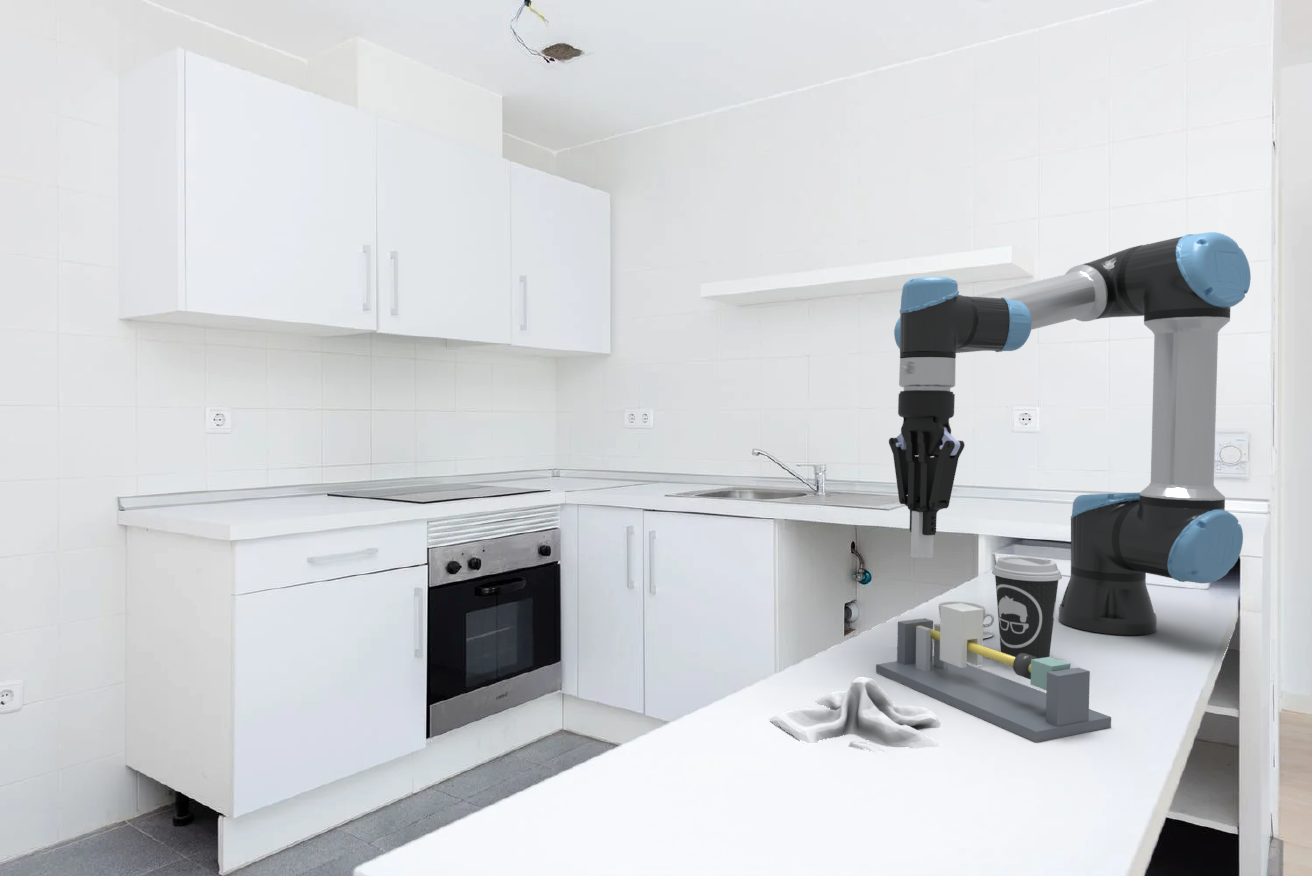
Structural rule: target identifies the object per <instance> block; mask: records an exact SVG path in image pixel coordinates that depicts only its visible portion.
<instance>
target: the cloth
mask: <svg viewBox="0 0 1312 876" xmlns="http://www.w3.org/2000/svg"><path fill="white" fill-rule="evenodd" d="M813 701H814V702H815V703H817V704H816V705H818V706H819V705H820V706H822V705H824V706H823V707H825V706H826V708H821V707H820V708H818V707H817V708H816V707H810V706H809V707H808V706H807V707H801V708H796V709H790V710H787V711H783V712H780V713H778V714H775V715H773V716H772V717H769V719H770V721H771V722H770V721H769V722H770V723H772V722H773V723H774V725H775V724H776V725H777V727H778V726H780V727H781V728H782V729H784V730H785V731H784V730H783V731H784V732H786V733H787V732H788V733H787V734H789V733H790V735H791V734H792V735H793V736H794V737H793V736H792V735H791V736H792V737H793V738H795V737H796V738H797V739H798V740H797V739H796V738H795V739H796V740H797V741H799V740H802V741H805V742H807V743H818V741H819V740H822V741H824V740H823V739H825V740H828V739H827V738H829V739H833V737H834V738H840V736H841V737H844V736H846V735H855V736H856V737H860V738H861V739H863V740H865V741H867V740H869V741H868V742H870V743H868V742H863V741H857V740H856V741H854V740H853V741H851V742H849V744H848V747H850V748H853V747H857V748H856V749H858V748H861V749H860V750H862V749H866V750H869V751H868V752H871V751H872V752H871V753H887V752H886V751H887V750H884V749H882V750H881V748H880V747H877V746H875V745H880V746H883V747H891V748H906V747H909V748H908V749H913V748H916V749H926V748H925V747H929V748H928V749H930V747H932V748H940V744H939V742H937V741H936V740H935V739H933V738H932V737H930V736H928V735H926V734H925V733H924V732H921V731H919V730H918V729H916V728H919V729H920V728H925V729H939V728H940V727H941V721H940V719H939V717H938V716H937V715H936V714H935V713H934V712H933V711H931V710H929V709H928V708H927V707H922V706H917V705H895V704H893V700H892V699H891V698H890V696H889V695H888V694H887V692H886V691H885V690H883V688H882V687H881V686H880V685H879V684H878V682H876V681H875V680H874V679H873V678H871V677H865V676H859V677H856V678H854V680H853V681H851V684H850V686H849V688H848V690H846V691H845V690H842V691H831V692H828V693H825V694H824V695H821V696H819V698H817V699H816V700H813ZM829 708H830V709H829ZM773 723H772V724H773ZM776 725H775V726H776ZM780 727H779V728H780ZM781 728H780V729H781ZM782 729H781V730H782ZM843 735H844V736H843ZM871 743H873V744H875V745H873V744H871ZM923 747H924V748H923ZM877 751H878V752H877ZM881 751H882V752H881Z"/></svg>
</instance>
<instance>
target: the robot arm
mask: <svg viewBox="0 0 1312 876" xmlns="http://www.w3.org/2000/svg"><path fill="white" fill-rule="evenodd" d="M1250 268H1251V267H1250V264H1249V261H1248V258H1247V255H1246V254H1245V252H1244V249H1242V248H1241V247H1240V246H1239V244H1238V243H1237V242H1236V241H1235V240H1234V239H1233V238H1231V237H1230V236H1228V235H1227V234H1224V233H1221V232H1213V231H1212V232H1211V231H1210V232H1203V233H1193V234H1190V233H1189V234H1185V235H1184V236H1179V237H1175V238H1170V239H1165V240H1161V241H1157V242H1152V243H1147V244H1141V245H1136V246H1132V247H1128V248H1125V249H1123V250H1120V251H1117V252H1114V253H1111V254H1109V255H1106V256H1104V257H1100V258H1098V259H1096V260H1092V261H1090V262H1086V263H1085V262H1084V263H1083V264H1078V265H1075V266H1072V267H1071V268H1069V269H1068V270H1067V271H1066V272H1065V274H1063V275H1058V276H1054V277H1050V278H1046V279H1042V280H1037V281H1033V282H1029V283H1025V284H1021V285H1016V286H1012V287H1008V288H1004V289H999V290H996V291H991V292H987V293H983V294H979V295H973V296H967V295H961V294H960V291H959V289H958V288H959V287H958V285H959V284H958V281H957V280H956V279H955V278H951V277H948V276H922V277H915V278H911V279H908V280H907V281H905V283H904V284H903V287H902V288H901V289H902V292H901V296H900V297H901V298H900V309H899V314H900V316H899V318H898V319H897V320H896V323H895V326H894V329H893V333H894V334H893V335H894V340H895V343H896V346H897V347H898V349H899V373H898V374H899V376H898V377H899V379H898V381H899V382H898V385H899V387H901V388H903V390H901V391H900V392H899V393H898V397H897V399H898V400H897V401H898V404H897V405H898V406H897V415H898V416H899V417H900V418H903V419H902V420H903V421H902V425H901V427H900V433H899V434H898V435H897V437H889V439H888V444H889V447H890V450H891V453H892V454H893V455H892V456H893V464H894V472H895V479H896V480H895V481H896V486H897V494H898V501H899V504H900V505H904V506H906V507H907V509H908V510H909V532H910V533H911V535H910V536H911V537H910V558H914V559H920V560H921V559H933V558H934V541H935V539H934V537H935V536H936V533H937V517H938V512H939V511H940V510H943V509H947V508H949V506H950V502H951V497H952V492H953V487H954V482H955V477H956V472H957V466H958V463H959V458H960V456H961V454H962V452H963V450H964V448H965V446H966V444H965V442H964V441H963V440H957V439H956V438H955V437H954V436H953V435H952V428H951V426H950V425H951V424H950V419H951V418H953V417H954V416H955V401H956V400H955V396H956V393H955V394H954V391H951V388H954V387H956V360H957V359H956V358H957V354H960V353H961V354H962V353H963V354H964V353H972V352H974V353H975V352H987V351H988V352H989V351H990V352H992V351H994V352H995V353H1002V352H1012V351H1013V352H1014V351H1017V350H1019V349H1021V348H1022V347H1024V345H1025V343H1026V342H1027V340H1028V339H1029V337H1030V335H1031V332H1032V330H1036V329H1040V328H1045V327H1048V326H1051V325H1055V324H1059V323H1064V322H1067V321H1072V320H1077V321H1079V322H1091V321H1095V320H1099V319H1106V318H1107V319H1108V318H1122V317H1123V318H1126V317H1129V318H1130V317H1143V325H1144V326H1146V328H1147V329H1149V330H1150V331H1151V332H1152V334H1153V335H1154V336H1153V337H1154V339H1153V340H1154V342H1153V345H1154V346H1153V379H1152V380H1153V381H1152V382H1153V384H1152V385H1153V386H1152V387H1153V388H1152V416H1151V417H1152V419H1151V450H1150V451H1151V454H1150V455H1151V456H1150V457H1151V458H1150V482H1149V484H1148V485H1147V486H1146V487H1145V488H1143V489H1142V490H1141V491H1140V492H1120V493H1119V492H1118V493H1095V494H1093V493H1091V494H1079V495H1078V496H1077V497H1075V498H1074V500H1073V502H1072V510H1071V511H1072V512H1071V516H1070V579H1069V580H1068V582H1067V586H1066V588H1065V592H1064V594H1063V598H1062V599H1061V603H1060V604H1059V606H1058V621H1059V622H1060V623H1062V624H1063V625H1066V626H1067V627H1071V628H1075V629H1079V630H1083V631H1086V632H1088V631H1089V632H1093V633H1099V634H1100V633H1101V634H1109V635H1110V634H1111V635H1117V636H1118V635H1119V636H1121V635H1122V636H1142V635H1149V634H1152V633H1155V632H1156V631H1157V622H1158V621H1157V614H1156V613H1155V610H1154V606H1153V604H1152V600H1151V596H1150V594H1149V591H1148V588H1147V581H1146V580H1147V579H1146V577H1147V575H1146V574H1149V575H1154V576H1159V577H1165V578H1168V579H1169V578H1170V579H1173V580H1175V581H1178V582H1182V583H1185V582H1189V583H1196V584H1210V583H1213V582H1214V583H1215V582H1216V581H1218V580H1220V579H1222V578H1223V577H1225V576H1226V575H1227V574H1228V573H1229V571H1230V570H1232V569H1233V567H1235V565H1236V563H1237V562H1238V559H1239V557H1240V555H1241V551H1242V547H1243V544H1244V543H1243V542H1244V533H1243V532H1244V531H1243V527H1242V525H1241V524H1240V523H1239V519H1238V518H1237V516H1236V515H1233V513H1231V512H1229V510H1226V509H1225V508H1226V497H1225V495H1224V494H1223V493H1221V491H1219V489H1217V488H1216V487H1215V485H1214V484H1215V454H1216V452H1215V449H1216V420H1217V419H1216V416H1217V414H1216V411H1217V380H1218V379H1217V377H1218V348H1219V347H1218V345H1219V341H1218V340H1219V332H1220V331H1221V329H1223V327H1224V328H1225V326H1226V325H1228V323H1229V322H1231V308H1232V307H1235V306H1237V305H1238V304H1239V303H1240V302H1242V301H1243V300H1244V299H1245V297H1246V295H1245V294H1247V293H1248V291H1249V290H1250V286H1251V276H1252V275H1251V269H1250Z"/></svg>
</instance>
